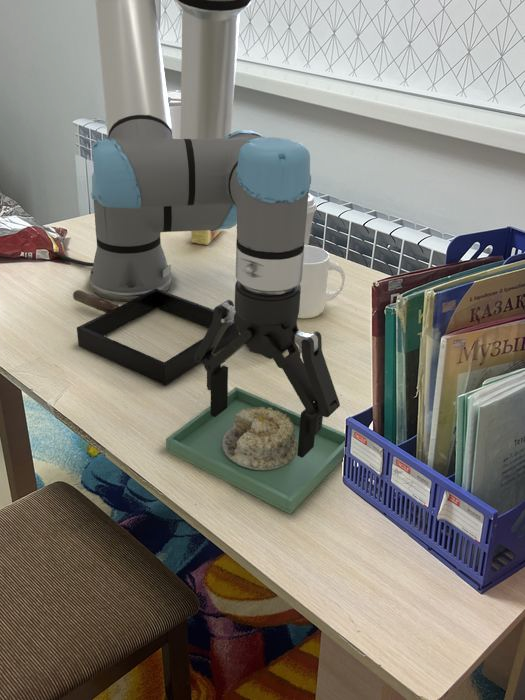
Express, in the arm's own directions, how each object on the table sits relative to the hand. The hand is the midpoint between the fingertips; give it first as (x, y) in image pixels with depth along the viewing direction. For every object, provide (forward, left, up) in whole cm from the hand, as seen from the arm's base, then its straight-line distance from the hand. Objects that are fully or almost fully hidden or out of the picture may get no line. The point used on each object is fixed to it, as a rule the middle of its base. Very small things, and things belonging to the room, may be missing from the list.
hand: (260, 430), depth 89 cm
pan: (-34, +13, -3) cm, 37 cm away
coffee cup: (-29, +52, -3) cm, 60 cm away
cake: (0, 0, -3) cm, 3 cm away
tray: (0, 0, -3) cm, 3 cm away
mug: (-16, +39, -3) cm, 42 cm away
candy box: (-52, +54, -3) cm, 75 cm away
